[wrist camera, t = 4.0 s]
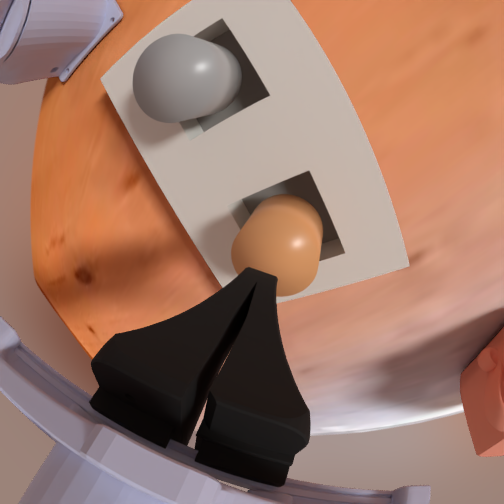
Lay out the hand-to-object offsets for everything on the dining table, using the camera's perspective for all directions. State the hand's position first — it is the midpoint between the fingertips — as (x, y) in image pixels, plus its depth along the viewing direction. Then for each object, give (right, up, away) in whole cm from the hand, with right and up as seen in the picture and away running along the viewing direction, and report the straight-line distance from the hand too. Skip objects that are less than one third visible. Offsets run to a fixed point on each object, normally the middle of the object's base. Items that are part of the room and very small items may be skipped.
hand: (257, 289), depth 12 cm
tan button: (+2, +3, +7) cm, 8 cm away
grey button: (-3, +12, +3) cm, 13 cm away
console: (0, +9, +7) cm, 12 cm away
